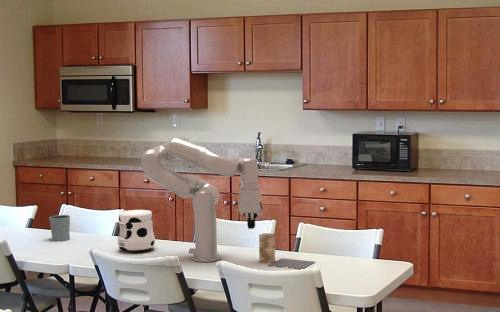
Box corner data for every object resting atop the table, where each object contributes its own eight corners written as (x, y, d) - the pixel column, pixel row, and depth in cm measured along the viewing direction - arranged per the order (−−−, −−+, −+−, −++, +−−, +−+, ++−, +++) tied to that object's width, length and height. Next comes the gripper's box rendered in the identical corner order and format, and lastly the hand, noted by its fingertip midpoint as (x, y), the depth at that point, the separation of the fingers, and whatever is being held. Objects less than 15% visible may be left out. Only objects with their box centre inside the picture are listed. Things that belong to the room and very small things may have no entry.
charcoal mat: (267, 266, 319) (267, 265, 319) (281, 259, 331) (281, 258, 331) (302, 269, 311) (302, 268, 311) (315, 262, 324) (315, 261, 324)
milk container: (158, 246, 363) (157, 209, 361) (150, 254, 346) (149, 215, 344) (123, 246, 364) (122, 209, 363) (113, 254, 347) (112, 215, 346)
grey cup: (65, 242, 377) (63, 218, 376) (46, 241, 379) (45, 217, 378) (74, 238, 387) (73, 214, 386) (56, 237, 389) (55, 214, 388)
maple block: (259, 262, 325) (259, 235, 324) (264, 260, 330) (264, 232, 329) (269, 263, 323) (269, 235, 322) (275, 261, 327) (274, 233, 326)
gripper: (230, 187, 327) (232, 229, 329) (261, 188, 320) (262, 230, 322) (238, 184, 334) (240, 225, 336) (269, 185, 327) (270, 227, 329)
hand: (251, 228), depth 329 cm, fingers closed
